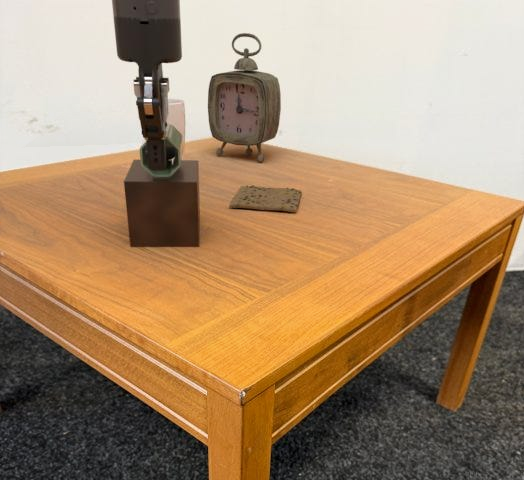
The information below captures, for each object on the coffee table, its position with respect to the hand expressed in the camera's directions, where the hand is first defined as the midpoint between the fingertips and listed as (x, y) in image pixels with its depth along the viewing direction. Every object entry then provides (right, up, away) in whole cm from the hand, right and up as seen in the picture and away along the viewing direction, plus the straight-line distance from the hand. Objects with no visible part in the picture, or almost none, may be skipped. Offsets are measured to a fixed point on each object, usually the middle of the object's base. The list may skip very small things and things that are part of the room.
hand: (157, 168), depth 72 cm
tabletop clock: (+10, +21, +56) cm, 61 cm away
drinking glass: (-4, +9, +36) cm, 37 cm away
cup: (-1, +3, +9) cm, 10 cm away
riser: (-1, -5, +14) cm, 15 cm away
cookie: (+14, +4, +29) cm, 32 cm away
